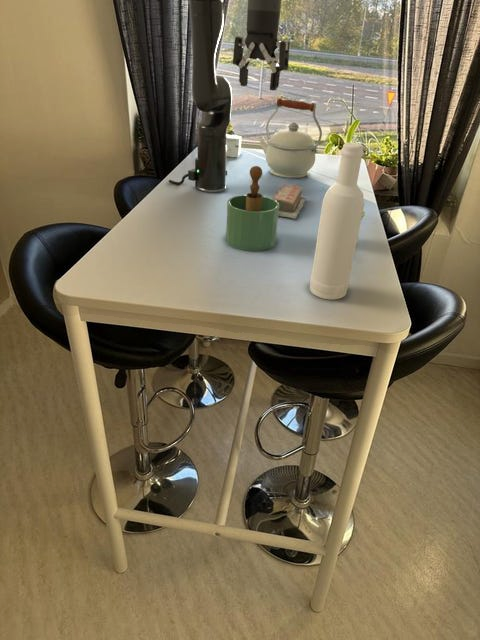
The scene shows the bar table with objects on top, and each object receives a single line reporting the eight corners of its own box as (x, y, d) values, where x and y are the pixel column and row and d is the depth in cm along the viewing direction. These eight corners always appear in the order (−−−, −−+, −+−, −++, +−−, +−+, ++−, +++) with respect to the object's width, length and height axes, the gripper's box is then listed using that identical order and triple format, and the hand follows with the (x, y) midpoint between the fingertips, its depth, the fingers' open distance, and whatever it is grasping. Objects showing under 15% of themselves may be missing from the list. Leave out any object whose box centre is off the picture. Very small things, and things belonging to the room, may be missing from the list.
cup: (216, 242, 116) (217, 203, 111) (243, 227, 126) (245, 191, 120) (259, 255, 111) (262, 216, 105) (284, 239, 120) (288, 202, 115)
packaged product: (277, 181, 146) (308, 186, 144) (276, 196, 149) (306, 201, 147) (263, 198, 132) (297, 203, 129) (262, 214, 134) (295, 220, 132)
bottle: (353, 298, 96) (385, 149, 79) (318, 302, 94) (344, 150, 77) (336, 280, 102) (362, 139, 86) (303, 283, 100) (323, 139, 84)
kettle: (325, 173, 175) (335, 102, 161) (304, 184, 162) (313, 107, 148) (268, 161, 186) (273, 93, 172) (244, 171, 172) (248, 98, 159)
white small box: (223, 156, 188) (224, 137, 184) (226, 152, 193) (227, 134, 189) (238, 157, 188) (239, 138, 184) (240, 154, 193) (241, 135, 189)
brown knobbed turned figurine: (246, 244, 114) (250, 171, 104) (234, 234, 119) (237, 164, 109) (268, 240, 117) (275, 169, 107) (256, 231, 122) (261, 162, 112)
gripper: (299, 11, 104) (290, 90, 113) (246, 8, 110) (242, 83, 119) (283, 10, 98) (275, 93, 108) (229, 6, 105) (225, 85, 114)
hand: (258, 87), depth 113 cm, fingers open, 8 cm apart
